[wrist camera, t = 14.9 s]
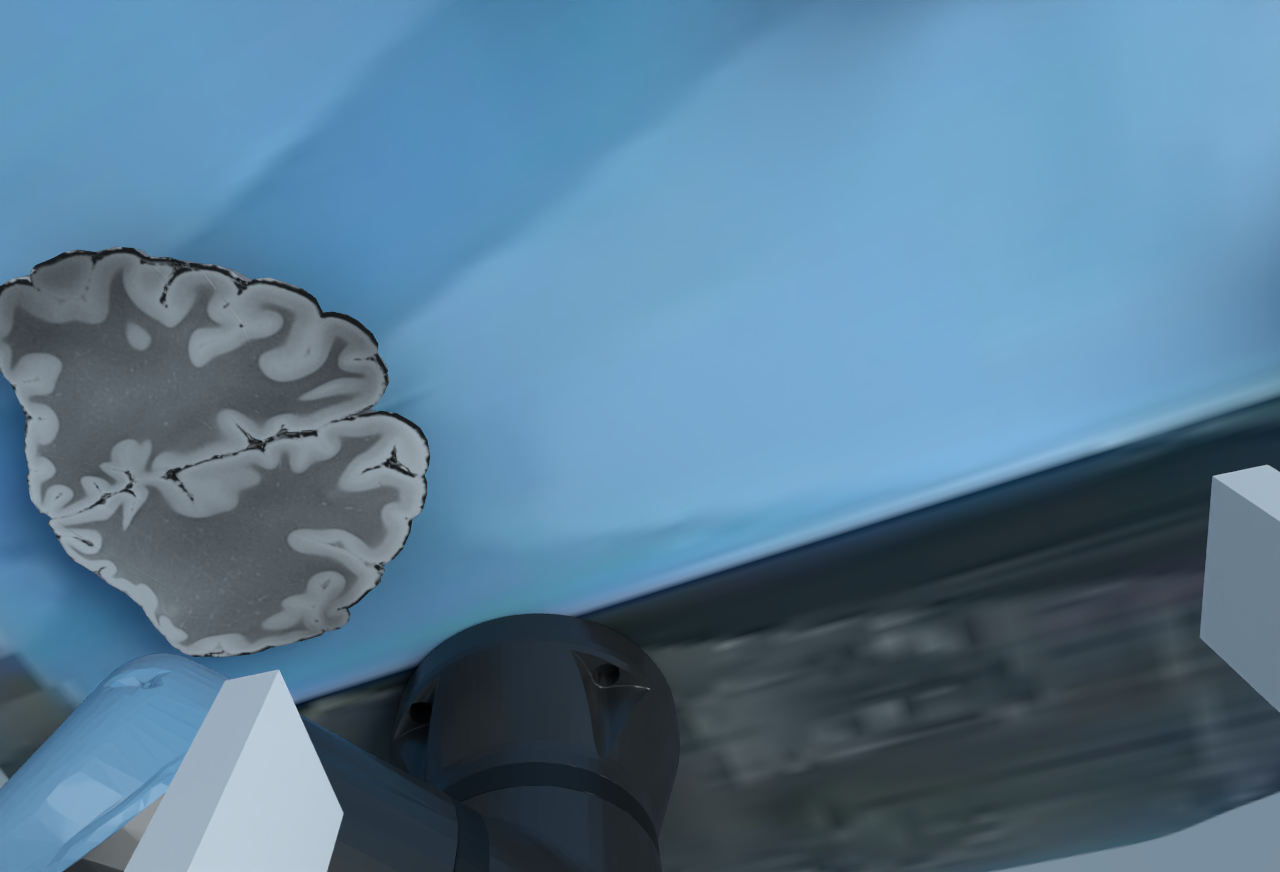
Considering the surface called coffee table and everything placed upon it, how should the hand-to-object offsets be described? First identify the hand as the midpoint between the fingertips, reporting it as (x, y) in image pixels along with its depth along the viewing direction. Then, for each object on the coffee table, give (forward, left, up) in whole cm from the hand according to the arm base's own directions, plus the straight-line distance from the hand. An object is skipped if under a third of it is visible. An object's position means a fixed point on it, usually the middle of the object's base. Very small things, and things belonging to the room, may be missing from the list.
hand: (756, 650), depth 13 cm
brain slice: (-19, -5, -29) cm, 35 cm away
